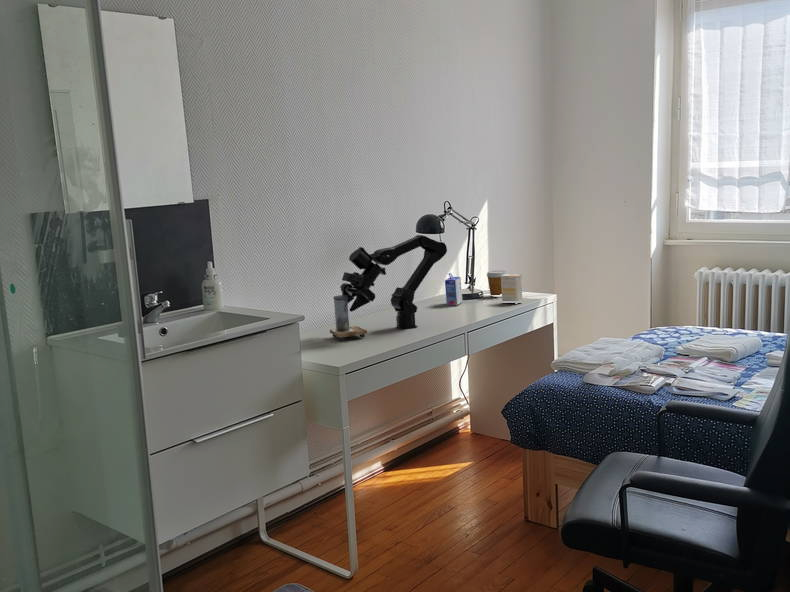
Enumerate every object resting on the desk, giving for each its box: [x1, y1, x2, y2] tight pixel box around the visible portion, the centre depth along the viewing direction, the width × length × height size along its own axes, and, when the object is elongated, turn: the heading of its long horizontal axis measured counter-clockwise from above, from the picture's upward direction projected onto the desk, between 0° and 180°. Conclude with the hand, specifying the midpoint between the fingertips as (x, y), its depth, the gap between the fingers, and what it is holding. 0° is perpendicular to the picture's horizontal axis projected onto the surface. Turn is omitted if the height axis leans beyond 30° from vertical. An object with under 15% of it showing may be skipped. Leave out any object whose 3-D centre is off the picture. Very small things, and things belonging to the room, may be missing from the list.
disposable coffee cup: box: [486, 270, 507, 296], centre depth 361 cm, size 10×10×12 cm
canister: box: [333, 294, 350, 332], centre depth 285 cm, size 5×5×13 cm
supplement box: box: [501, 273, 523, 301], centre depth 340 cm, size 8×5×13 cm, turn 49°
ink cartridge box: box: [444, 272, 463, 306], centre depth 347 cm, size 10×6×14 cm, turn 161°
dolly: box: [329, 325, 368, 342], centre depth 286 cm, size 11×11×3 cm
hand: (344, 309), depth 285 cm, fingers open, 9 cm apart
